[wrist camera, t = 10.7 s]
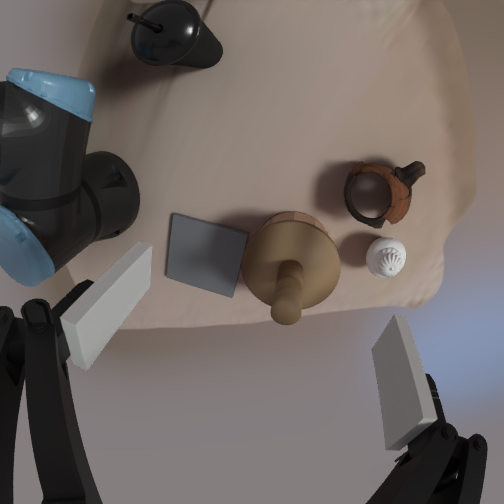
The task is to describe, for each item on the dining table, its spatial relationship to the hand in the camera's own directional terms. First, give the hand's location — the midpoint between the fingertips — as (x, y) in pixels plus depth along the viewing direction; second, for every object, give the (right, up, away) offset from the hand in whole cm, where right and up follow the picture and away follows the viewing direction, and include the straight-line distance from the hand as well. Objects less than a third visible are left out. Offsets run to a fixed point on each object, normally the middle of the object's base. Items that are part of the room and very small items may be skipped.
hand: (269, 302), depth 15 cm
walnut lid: (+4, +1, +25) cm, 25 cm away
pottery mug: (+18, +12, +24) cm, 32 cm away
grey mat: (-9, +2, +33) cm, 34 cm away
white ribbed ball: (+19, +3, +28) cm, 34 cm away
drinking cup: (-7, +30, +19) cm, 36 cm away
